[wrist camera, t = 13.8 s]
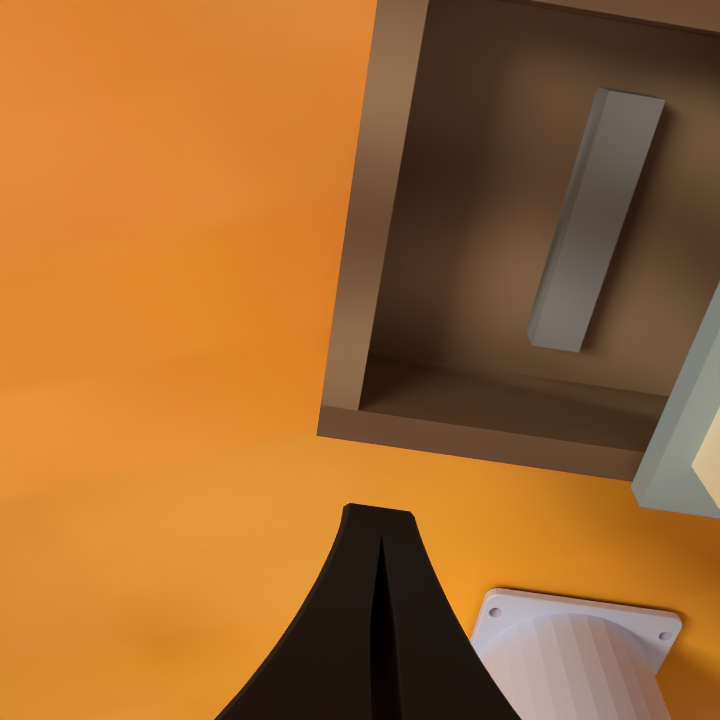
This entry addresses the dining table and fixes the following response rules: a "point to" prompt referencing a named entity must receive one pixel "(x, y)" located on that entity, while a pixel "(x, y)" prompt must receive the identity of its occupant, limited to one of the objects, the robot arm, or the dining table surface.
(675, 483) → the lid
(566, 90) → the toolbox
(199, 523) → the dining table surface
